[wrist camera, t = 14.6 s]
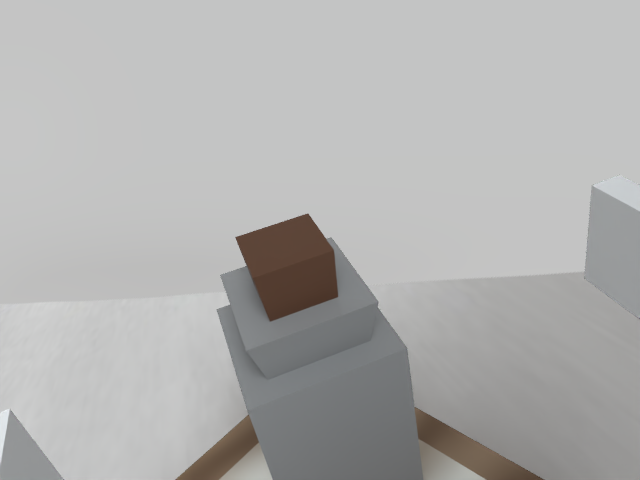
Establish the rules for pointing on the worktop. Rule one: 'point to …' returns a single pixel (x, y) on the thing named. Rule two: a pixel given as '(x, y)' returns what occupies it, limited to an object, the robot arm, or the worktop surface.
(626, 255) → the robot arm
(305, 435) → the perfume bottle
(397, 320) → the worktop surface
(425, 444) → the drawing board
